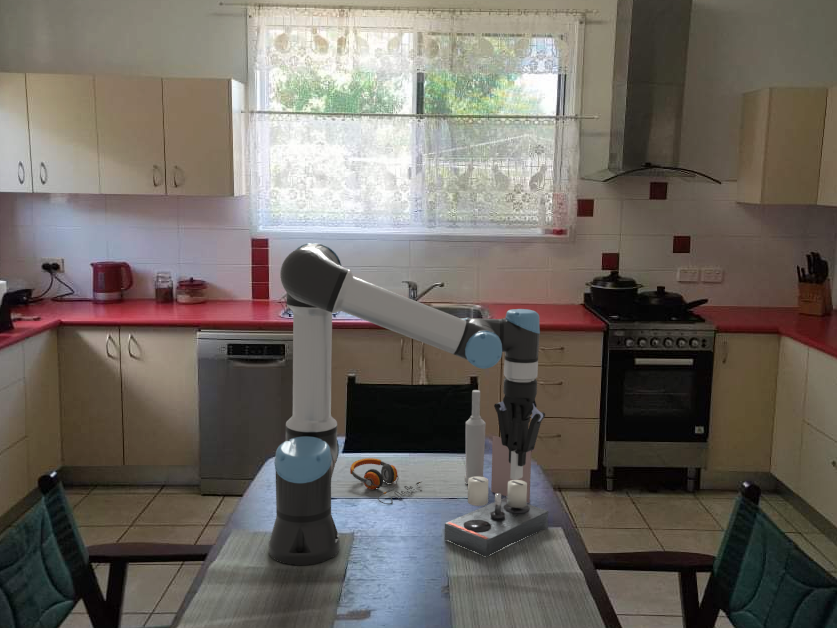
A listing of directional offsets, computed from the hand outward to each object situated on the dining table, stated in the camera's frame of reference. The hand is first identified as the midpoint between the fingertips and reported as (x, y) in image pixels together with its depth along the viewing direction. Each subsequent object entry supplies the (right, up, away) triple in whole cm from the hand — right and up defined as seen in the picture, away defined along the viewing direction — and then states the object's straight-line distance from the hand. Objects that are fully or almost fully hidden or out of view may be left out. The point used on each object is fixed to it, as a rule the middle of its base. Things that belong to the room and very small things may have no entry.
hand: (516, 477), depth 186 cm
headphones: (-31, -8, +24) cm, 40 cm away
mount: (-5, -12, -3) cm, 13 cm away
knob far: (0, -6, +1) cm, 6 cm away
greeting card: (+1, -9, +19) cm, 21 cm away
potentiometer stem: (-5, -8, -4) cm, 10 cm away
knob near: (-10, -3, -10) cm, 14 cm away
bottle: (-8, -7, +28) cm, 30 cm away
